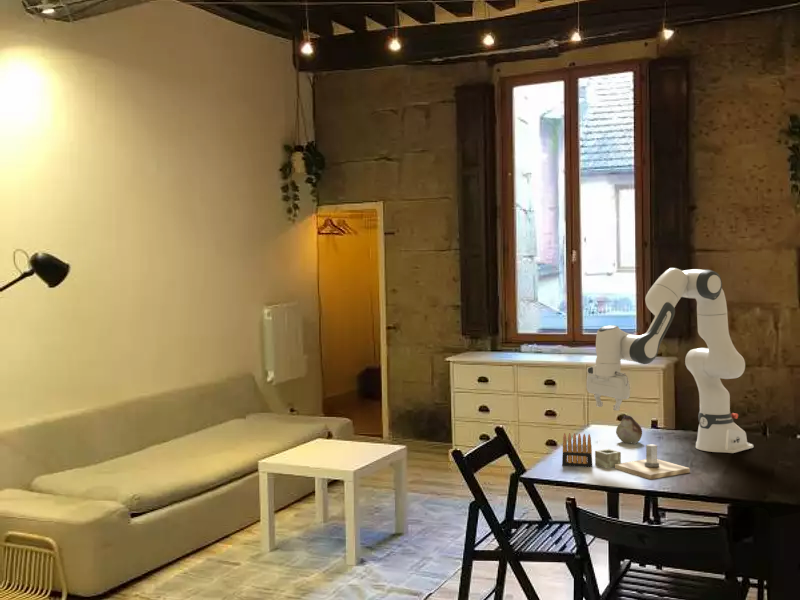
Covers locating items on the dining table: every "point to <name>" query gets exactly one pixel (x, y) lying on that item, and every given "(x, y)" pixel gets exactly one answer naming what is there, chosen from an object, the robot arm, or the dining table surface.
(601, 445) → the dining table surface
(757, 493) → the dining table surface
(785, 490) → the dining table surface
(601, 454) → the collar
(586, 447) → the ammunition clip
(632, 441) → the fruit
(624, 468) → the shaft board
